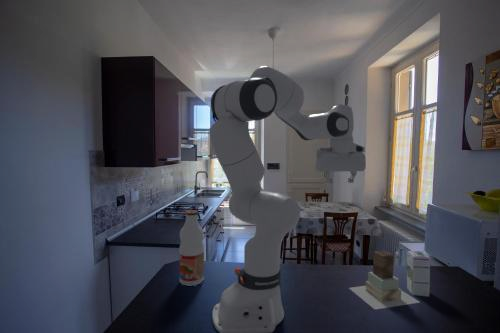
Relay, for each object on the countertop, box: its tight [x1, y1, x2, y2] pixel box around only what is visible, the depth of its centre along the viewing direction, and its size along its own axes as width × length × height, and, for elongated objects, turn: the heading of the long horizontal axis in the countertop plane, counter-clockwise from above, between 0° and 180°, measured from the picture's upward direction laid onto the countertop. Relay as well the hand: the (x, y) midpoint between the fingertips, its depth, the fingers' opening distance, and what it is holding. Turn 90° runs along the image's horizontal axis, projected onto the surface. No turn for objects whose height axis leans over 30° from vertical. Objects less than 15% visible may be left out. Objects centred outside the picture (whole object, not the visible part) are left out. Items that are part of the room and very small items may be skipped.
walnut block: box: [372, 250, 395, 279], centre depth 93 cm, size 4×4×8 cm
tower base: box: [365, 280, 402, 302], centre depth 93 cm, size 8×8×4 cm
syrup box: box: [406, 250, 431, 297], centre depth 95 cm, size 6×6×14 cm
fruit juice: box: [178, 209, 205, 286], centre depth 102 cm, size 9×9×28 cm
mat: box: [348, 285, 421, 310], centre depth 93 cm, size 18×14×1 cm
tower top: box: [367, 271, 400, 291], centre depth 93 cm, size 7×7×4 cm
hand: (340, 183), depth 103 cm, fingers open, 8 cm apart
